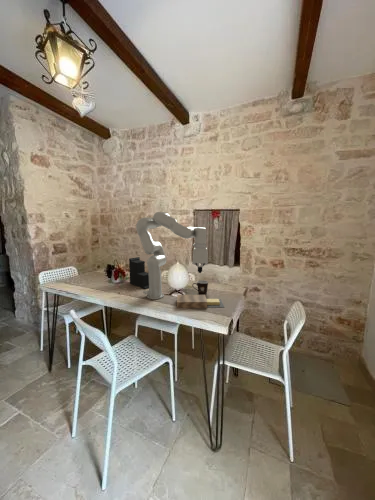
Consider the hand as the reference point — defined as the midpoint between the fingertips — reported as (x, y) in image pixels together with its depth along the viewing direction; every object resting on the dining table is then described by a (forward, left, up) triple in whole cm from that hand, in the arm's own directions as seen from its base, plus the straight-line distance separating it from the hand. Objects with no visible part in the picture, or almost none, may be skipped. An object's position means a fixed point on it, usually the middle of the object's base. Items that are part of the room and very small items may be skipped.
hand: (199, 272), depth 149 cm
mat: (+11, 0, -22) cm, 24 cm away
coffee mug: (+2, +20, -22) cm, 30 cm away
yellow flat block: (+9, 0, -22) cm, 24 cm away
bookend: (-48, +44, -23) cm, 69 cm away
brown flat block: (-6, 0, -22) cm, 23 cm away
